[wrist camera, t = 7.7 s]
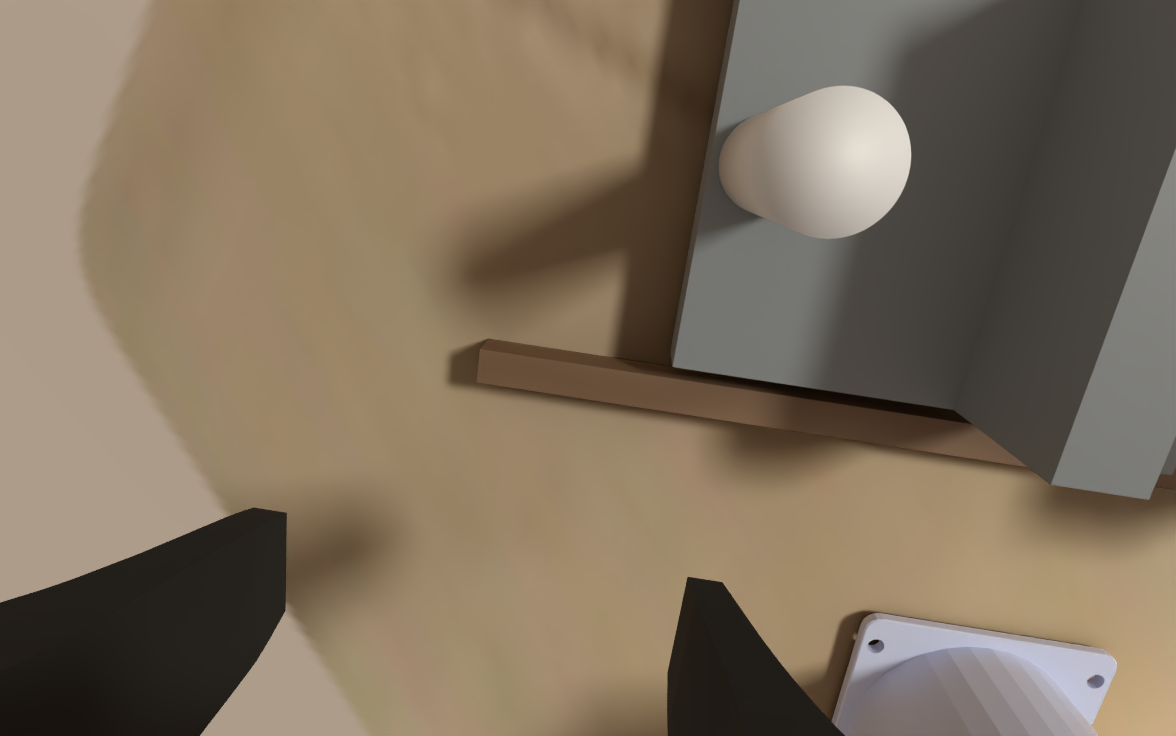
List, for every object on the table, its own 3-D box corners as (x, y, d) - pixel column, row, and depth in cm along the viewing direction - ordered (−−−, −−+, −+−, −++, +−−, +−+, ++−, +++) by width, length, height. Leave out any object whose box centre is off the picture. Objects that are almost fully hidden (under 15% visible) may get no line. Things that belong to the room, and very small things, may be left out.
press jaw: (1017, 405, 20) (1234, 542, 13) (669, 352, 20) (689, 457, 13) (1163, -20, 17) (1563, -159, 9) (747, -76, 17) (830, -254, 10)
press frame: (1353, 503, 20) (1707, 671, 14) (485, 370, 21) (414, 467, 14) (1627, -26, 16) (2322, -157, 10) (539, -172, 17) (475, -393, 10)
